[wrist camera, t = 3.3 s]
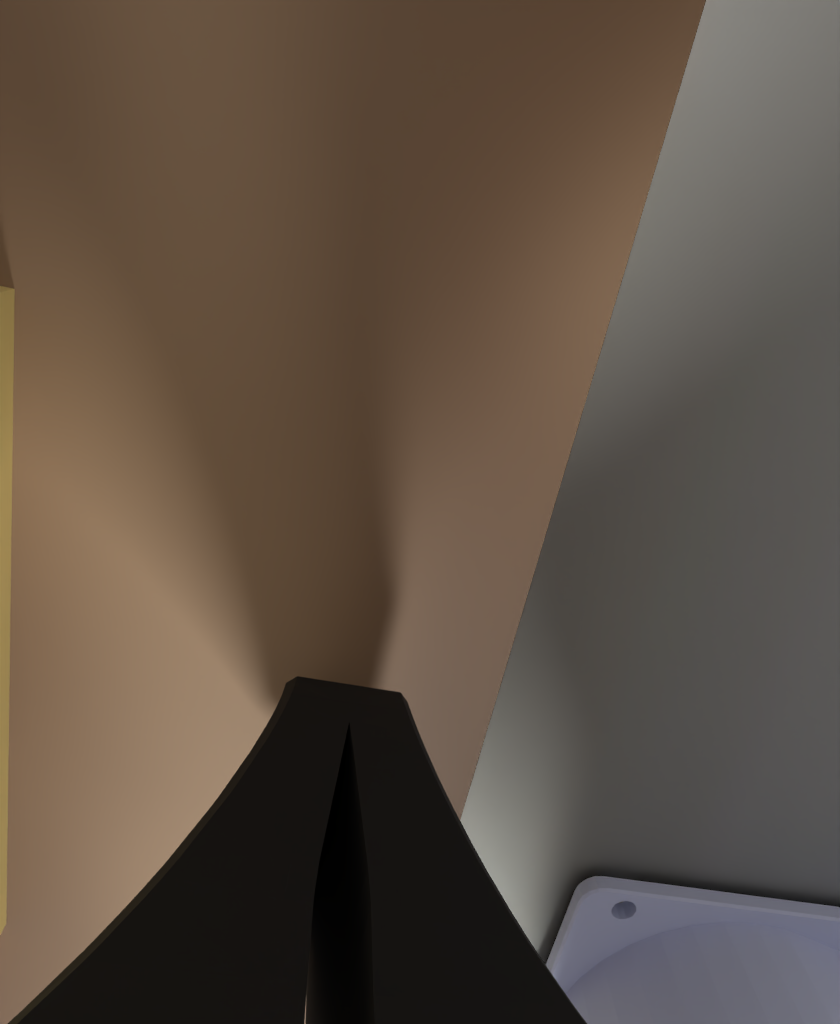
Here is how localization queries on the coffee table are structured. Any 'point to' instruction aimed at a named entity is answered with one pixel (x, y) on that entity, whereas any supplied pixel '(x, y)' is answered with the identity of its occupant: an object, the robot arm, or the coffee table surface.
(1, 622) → the yellow rectangular block
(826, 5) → the coffee table surface
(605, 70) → the deck
